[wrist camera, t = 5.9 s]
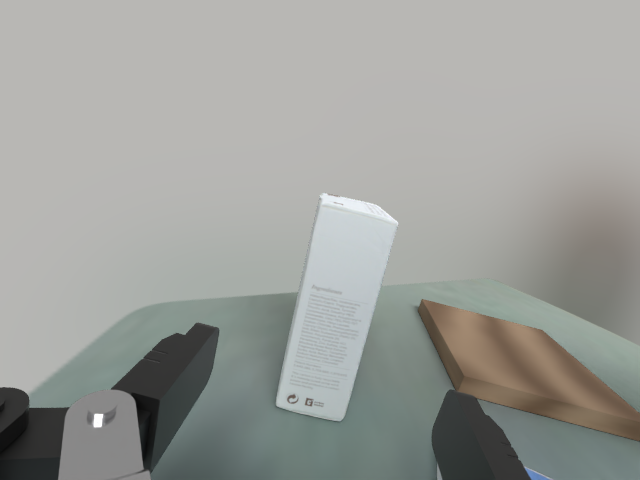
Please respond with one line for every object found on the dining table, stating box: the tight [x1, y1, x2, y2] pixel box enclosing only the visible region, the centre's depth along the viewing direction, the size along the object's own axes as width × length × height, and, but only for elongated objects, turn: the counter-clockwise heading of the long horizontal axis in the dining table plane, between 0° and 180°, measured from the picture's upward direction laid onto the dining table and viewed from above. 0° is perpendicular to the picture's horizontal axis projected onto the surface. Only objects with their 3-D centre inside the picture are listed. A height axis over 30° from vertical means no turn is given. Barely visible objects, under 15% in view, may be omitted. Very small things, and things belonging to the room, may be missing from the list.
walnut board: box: [418, 299, 640, 441], centre depth 31 cm, size 14×14×2 cm
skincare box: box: [276, 193, 399, 421], centre depth 20 cm, size 6×4×12 cm
